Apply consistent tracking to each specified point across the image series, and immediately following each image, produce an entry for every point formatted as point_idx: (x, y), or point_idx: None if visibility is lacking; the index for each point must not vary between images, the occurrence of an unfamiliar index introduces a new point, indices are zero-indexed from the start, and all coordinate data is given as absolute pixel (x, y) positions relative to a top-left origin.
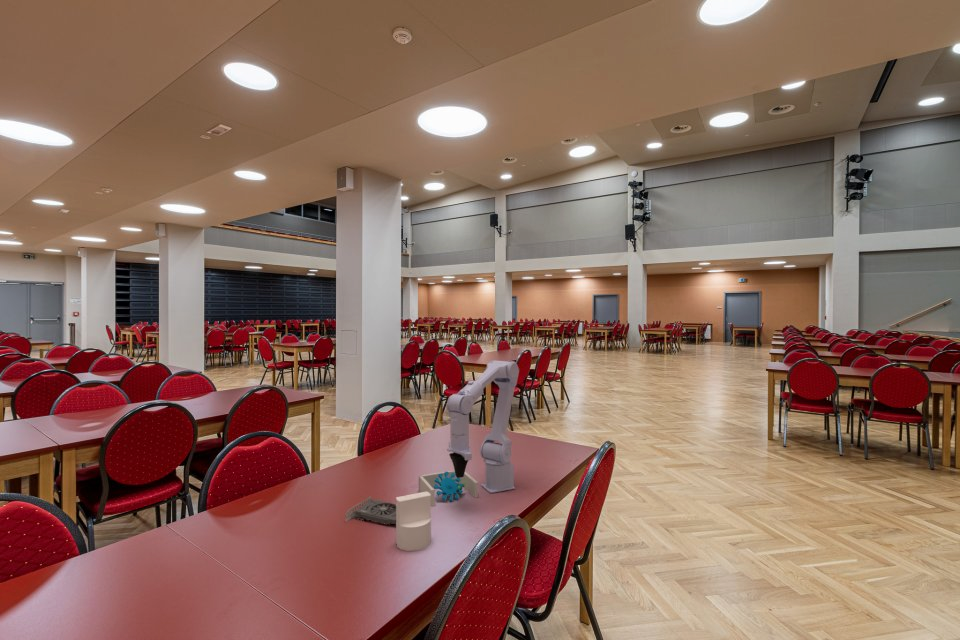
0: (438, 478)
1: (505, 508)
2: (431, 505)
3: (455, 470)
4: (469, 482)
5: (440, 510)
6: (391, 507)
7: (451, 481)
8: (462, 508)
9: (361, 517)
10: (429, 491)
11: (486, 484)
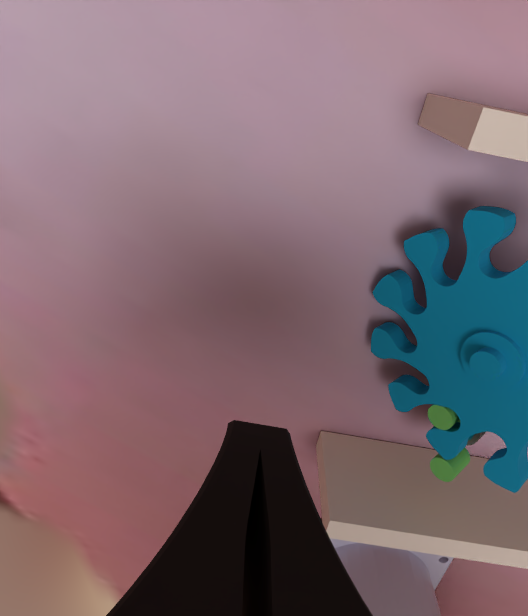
0: None
1: (88, 472)
2: (430, 95)
3: (263, 487)
4: (438, 506)
5: (300, 120)
6: None
7: (518, 408)
8: (228, 284)
9: None
10: None
11: (388, 562)
